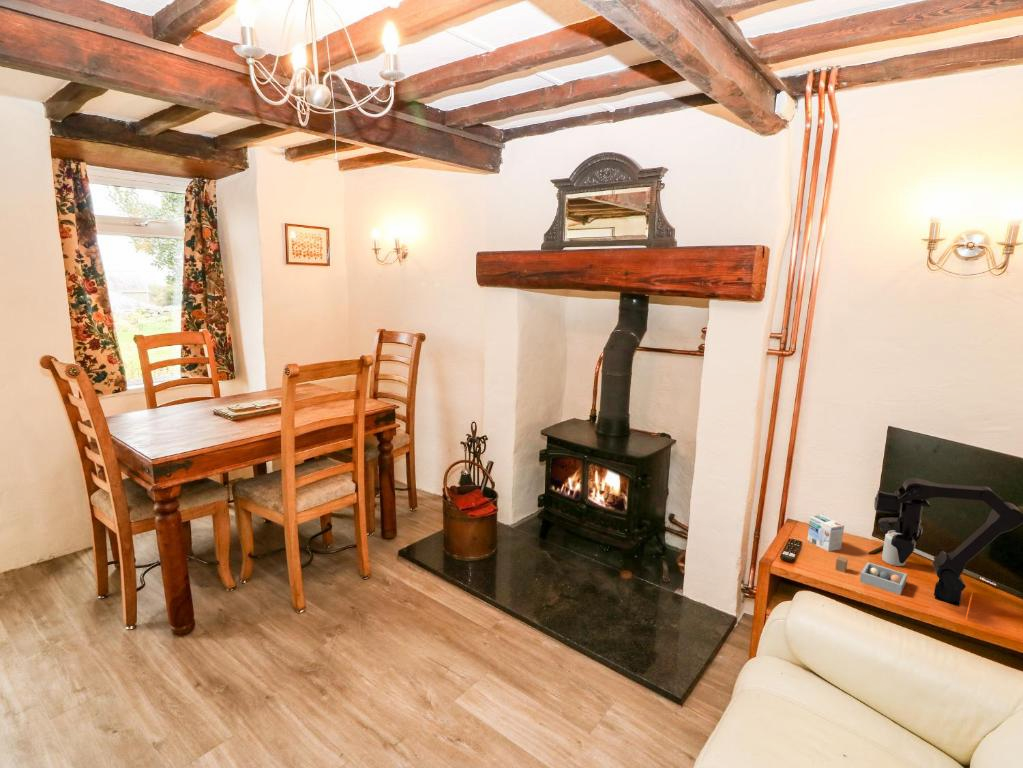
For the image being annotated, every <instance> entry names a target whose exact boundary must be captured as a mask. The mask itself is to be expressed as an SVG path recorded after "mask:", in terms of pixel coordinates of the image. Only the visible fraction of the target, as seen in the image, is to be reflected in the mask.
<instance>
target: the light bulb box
mask: <svg viewBox="0 0 1023 768" xmlns="http://www.w3.org/2000/svg"><path fill="white" fill-rule="evenodd" d="M844 528H845V525H844V524H842V523H840V522H838V521H836V520H834V519H832V518H831V517H828V516H826V515H824V514H818V515H812V516H811V515H810V517H809V526H808V532H807V533H808V534H807V541H808V542H809V543H810V544H813V545H815V546H816V547H818V548H821V549H823V550H825V551H827V552H833V551H839V550H842V543H843V536H844V531H845V529H844Z"/></svg>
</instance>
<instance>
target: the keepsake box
mask: <svg viewBox="0 0 1023 768" xmlns="http://www.w3.org/2000/svg"><path fill="white" fill-rule="evenodd" d="M870 568H876V569H877V570H878V571H879V575H878V576H874V575H870V573H869V570H870ZM882 571H885V572H887V573H889V575H890V578H889V579H888V580H886V579H883V578H880V573H881V572H882ZM892 575H898V576H899V577H900V578H901V581H900V583H895V582H892V581H891V576H892ZM907 577H908V574H907V573H905V572H901V571H898V570H894V569H892V568H889V567H885V566H882V565H878V564H877V563H876V564H875V563H872V562H870V561H866V564H865V565H864V566H863V568H862V569H861V572H860V576H859V582H860V583H863V584H865V585H868V586H872V587H875V588H877V589H881V590H884V591H886V592H890V593H893V594H895V595H896V594H897V595H899V596H901V595H902V592H903V590H904V588H905V586H906V583H907Z"/></svg>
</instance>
